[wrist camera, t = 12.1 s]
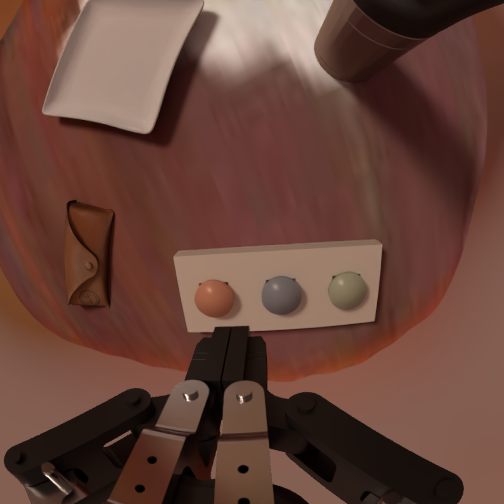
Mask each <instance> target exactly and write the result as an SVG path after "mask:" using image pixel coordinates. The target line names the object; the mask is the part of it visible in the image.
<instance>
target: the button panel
mask: <svg viewBox="0 0 504 504" xmlns="http://www.w3.org/2000/svg"><path fill="white" fill-rule="evenodd" d="M381 256H382V244H381V243H380V242H379V241H377V240H376V239H371V240H353V241H335V242H317V243H300V244H282V245H265V246H249V247H232V248H216V249H200V250H184V251H178V252H177V253H176V254H175V256H174V263H175V268H176V274H177V280H178V285H179V290H180V295H181V300H182V305H183V310H184V315H185V320H186V324H187V329H188V332H213V331H214V328H215V327H219V326H249V327H250V331H265V330H284V329H299V328H312V327H324V326H335V325H345V324H354V323H363V322H371V321H374V320H375V313H376V306H377V298H378V289H379V279H380V268H381ZM349 271H350V272H355V273H357V274H358V275H360V277H361V278H362V279H363V280H364V282H365V284H366V288H367V292H366V296H365V298H364V300H363V301H362V302H361V304H359V305H358V306H357V307H355V308H353V309H349V310H342V309H338V308H337V307H335V306H334V305H333V304H332V302H331V300H330V297H329V294H328V288H329V285H330V282H331V281H332V276H337V275H338V274H340V273H343V272H349ZM277 276H286V277H290V278H292V279H294V280H295V281H296V282H297V284H298V285H299V287H300V291H301V296H302V297H301V302H300V304H299V306H298V307H297V309H296V310H294V311H293V312H291V313H289V314H285V315H276V314H273V313H271V312H269V311H268V310H267V309H266V308H265V307H264V305H263V303H262V289H263V287H264V285H265V284H266V280H270V279H272V278H274V277H277ZM207 280H220V281H222V282H228V286H229V287H230V288H231V290H232V292H233V295H234V301H233V306H232V308H231V310H230V312H229V313H228V314H226V315H225V316H222V317H218V318H213V317H209V316H206V315H204V314H203V313H201V312H200V311H199V310H198V308H197V307H196V304H195V300H194V297H195V293H196V291H197V289H198V287H199V286H200V285H201V284H202V283H203V282H205V281H207Z"/></svg>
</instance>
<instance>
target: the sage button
mask: <svg viewBox="0 0 504 504" xmlns="http://www.w3.org/2000/svg"><path fill="white" fill-rule="evenodd" d="M366 292H367V288H366V284H365V282H364V280H363V279H362V278H361V277H360V275H358V274H357V273H355V272H350V271H349V272H343V273H340V274H338V275H337V276H334V277H333V279H332V281H331V282H330V285H329V288H328V294H329V297H330V300H331V302H332V304H333V305H334V306H335V307H337V308H338V309H342V310H349V309H353V308H355V307H357V306H358V305H359V304H361V302H362V301H363V300H364V298H365V296H366Z"/></svg>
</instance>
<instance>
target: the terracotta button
mask: <svg viewBox="0 0 504 504" xmlns="http://www.w3.org/2000/svg"><path fill="white" fill-rule="evenodd" d="M194 300H195V304H196V307H197V308H198V310H199V311H200V312H201V313H203V314H204V315H206V316H209V317H213V318H218V317H222V316H225V315H226V314H228V313H229V312H230V310H231V308H232V306H233V301H234V295H233V292H232V290H231V288H230V287H229V286H228V285H227V284H226V283H225V282H222V281H220V280H207V281H205V282H203V283H202V284H201V285H200V286H199V287H198V289H197V291H196V293H195V297H194Z"/></svg>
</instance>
